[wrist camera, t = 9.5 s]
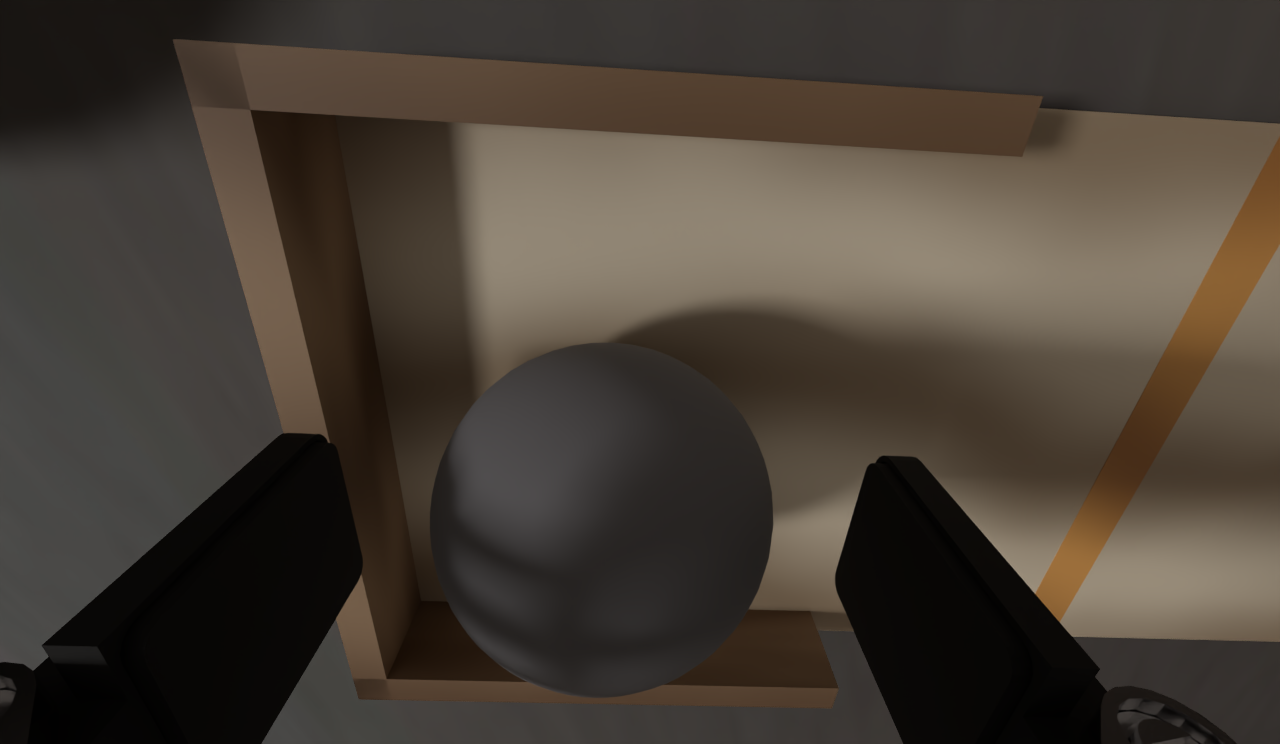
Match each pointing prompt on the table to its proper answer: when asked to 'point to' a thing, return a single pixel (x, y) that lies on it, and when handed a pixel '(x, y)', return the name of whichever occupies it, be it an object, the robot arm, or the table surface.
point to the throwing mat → (772, 322)
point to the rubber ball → (601, 520)
